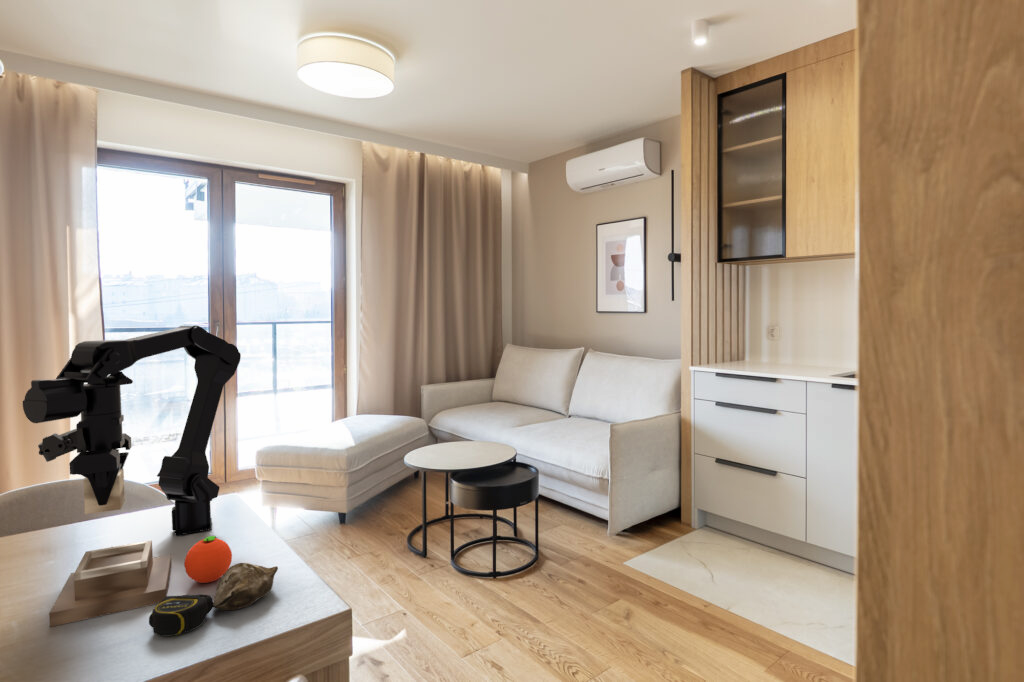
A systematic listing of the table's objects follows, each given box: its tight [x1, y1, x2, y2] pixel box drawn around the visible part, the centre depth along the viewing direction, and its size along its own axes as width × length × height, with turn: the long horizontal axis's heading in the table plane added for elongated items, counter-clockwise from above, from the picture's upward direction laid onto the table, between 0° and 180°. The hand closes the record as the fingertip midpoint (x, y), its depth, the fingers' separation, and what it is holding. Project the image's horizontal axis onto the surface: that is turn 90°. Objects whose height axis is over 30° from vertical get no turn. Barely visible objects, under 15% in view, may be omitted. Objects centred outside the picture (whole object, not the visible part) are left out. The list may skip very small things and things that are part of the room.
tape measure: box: [148, 594, 214, 637], centre depth 78 cm, size 7×7×4 cm
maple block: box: [83, 468, 126, 515], centre depth 98 cm, size 5×5×6 cm
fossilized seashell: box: [212, 562, 279, 611], centre depth 85 cm, size 8×7×10 cm
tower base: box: [48, 539, 172, 628], centre depth 88 cm, size 14×14×6 cm
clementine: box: [183, 535, 233, 584], centre depth 92 cm, size 8×7×7 cm
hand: (105, 500), depth 98 cm, fingers closed on maple block, 5 cm apart
